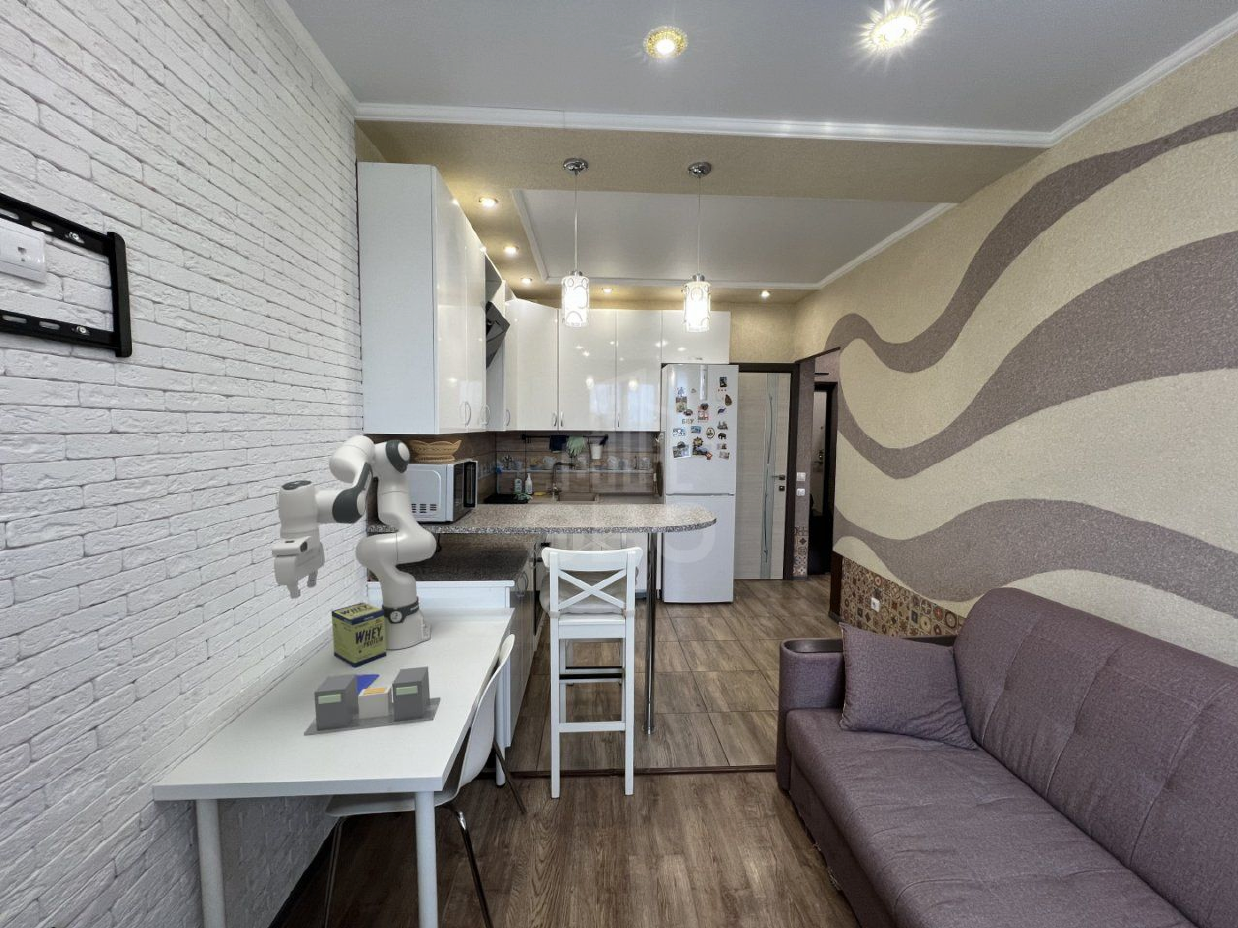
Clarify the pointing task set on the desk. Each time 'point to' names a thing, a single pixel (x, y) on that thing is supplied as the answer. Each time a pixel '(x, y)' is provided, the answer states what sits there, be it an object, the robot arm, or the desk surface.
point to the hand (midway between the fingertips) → (304, 591)
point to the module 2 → (411, 693)
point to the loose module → (375, 702)
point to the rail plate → (376, 720)
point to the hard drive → (365, 681)
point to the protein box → (358, 634)
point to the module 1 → (336, 701)
